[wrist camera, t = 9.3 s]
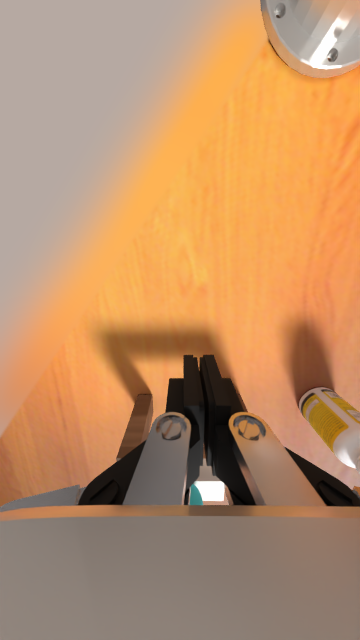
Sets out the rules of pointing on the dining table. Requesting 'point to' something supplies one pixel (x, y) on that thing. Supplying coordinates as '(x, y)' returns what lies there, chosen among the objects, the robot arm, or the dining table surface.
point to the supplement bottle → (334, 423)
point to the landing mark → (210, 490)
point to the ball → (195, 496)
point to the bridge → (141, 427)
